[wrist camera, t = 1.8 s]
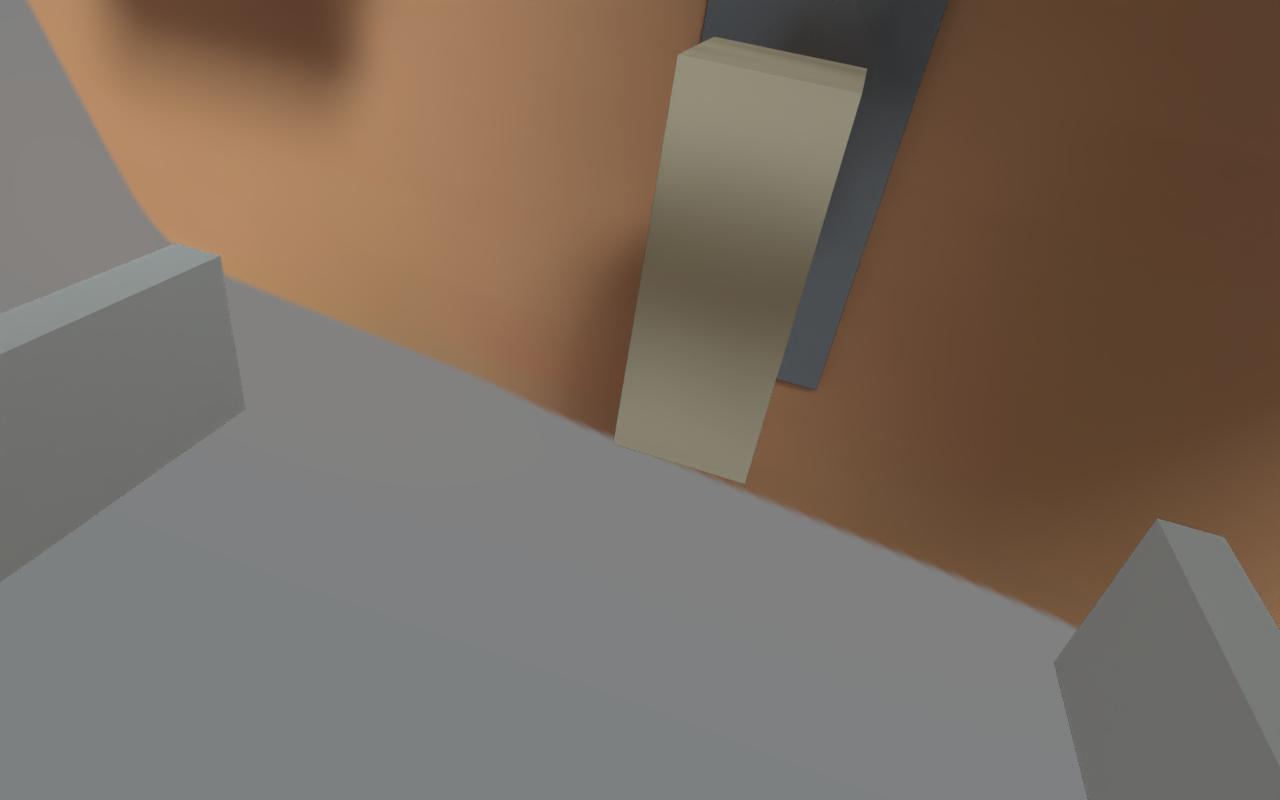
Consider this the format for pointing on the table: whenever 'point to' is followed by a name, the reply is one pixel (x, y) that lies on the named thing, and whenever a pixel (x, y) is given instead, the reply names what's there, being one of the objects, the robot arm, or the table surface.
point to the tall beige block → (763, 213)
